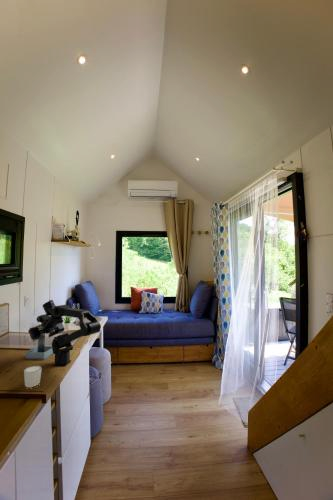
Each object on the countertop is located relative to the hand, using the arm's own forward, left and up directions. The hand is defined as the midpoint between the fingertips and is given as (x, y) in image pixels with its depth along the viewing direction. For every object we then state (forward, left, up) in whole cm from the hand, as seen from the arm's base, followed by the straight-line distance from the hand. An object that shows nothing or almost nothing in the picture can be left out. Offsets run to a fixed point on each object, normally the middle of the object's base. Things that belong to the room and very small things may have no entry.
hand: (41, 338), depth 142 cm
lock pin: (0, 0, -8) cm, 8 cm away
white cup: (-17, +32, -10) cm, 38 cm away
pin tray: (0, 0, -9) cm, 9 cm away
